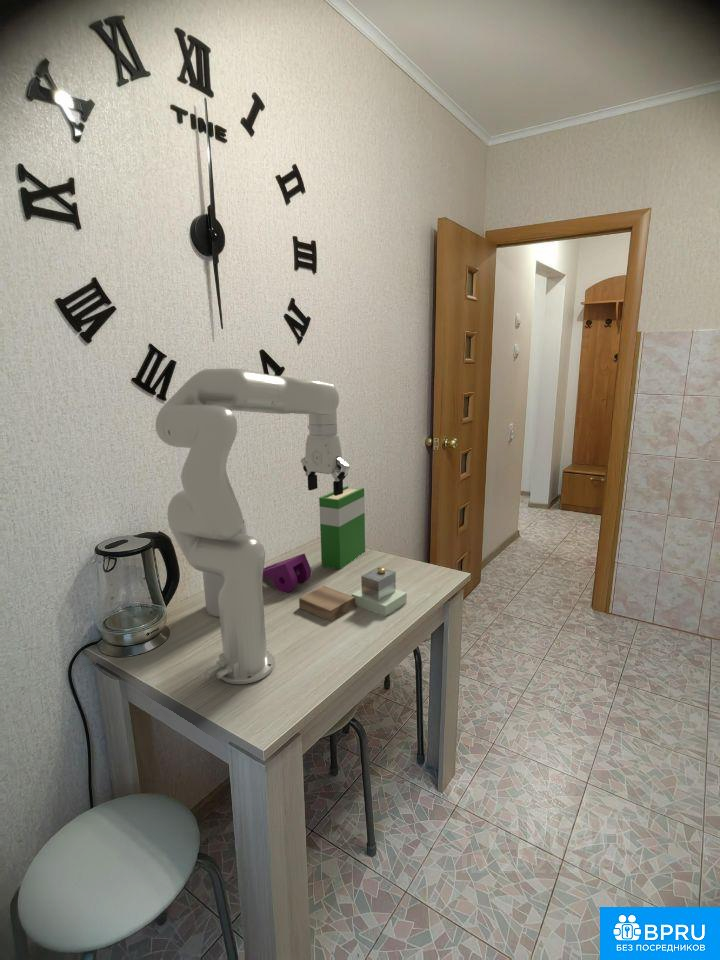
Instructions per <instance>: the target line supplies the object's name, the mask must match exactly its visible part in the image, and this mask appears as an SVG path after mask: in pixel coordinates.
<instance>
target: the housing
mask: <svg viewBox="0 0 720 960" xmlns="http://www.w3.org/2000/svg"><path fill="white" fill-rule="evenodd" d="M396 575H397V573H396V571H394V570H390V569H387V567H385V566H384V567H383V566H377V567H376V568H374V569H371V570H370V571H368V572H366V573H364V574H362V575H361V578H360V579H361V588H362V596H364V597H367V598H370V599H372V600H375V601H378V602H379V601H381V600H382V599H384V598H386V597H387V596H389V595H390V594H392V593H394V592H395V591H396V590H397V589H396V588H397V587H396V583H397V581H396V580H397V577H396Z"/></svg>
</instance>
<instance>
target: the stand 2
mask: <svg viewBox="0 0 720 960" xmlns="http://www.w3.org/2000/svg"><path fill="white" fill-rule="evenodd" d="M351 596H353V597H355V606H357V607H360V608H362V609H365V610H368V611H370V612H373V613H376V614H378V615H381V616H383V617H386V616H388V615H390V614H392V613H394V612H395V611H396V610H398V609H399V608H400V607H402V606H404V605H405V604H406V603H407V592H405V591H402V590H400V589H396V591H395V592H394V593H392V594H390V595H389V596H387V597H386V598H384V599H382V600H381V601H379V602H378V601H375V600H372V599H370V598H367V597H364V596H362V587H361V588H360V589H357V590H356V591H354V592H352V593H351Z"/></svg>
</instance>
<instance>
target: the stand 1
mask: <svg viewBox="0 0 720 960" xmlns="http://www.w3.org/2000/svg"><path fill="white" fill-rule="evenodd" d="M298 603H299V604H298V605H299V609H301V610H304V611H306V612H308V613H310V614H313V615H315V616H317V617H320V618H322V619H324V620H327V621H330V622H332V621H334V620H335V619H337V618H339V617H340V616H342V615H344V614H345V613H347V612H349V611H350V610H352V609H354V608H356V605H355V597H353V596H352V595H350V594H347V593H344V592H341V591H339V590H336V589H333V588H331V587H328V586H326V585H322V586H320V587H318V588H316V589H314V590H312V591H310V592H309V593H307V594H304V595H303V596H300V597H298Z"/></svg>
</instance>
